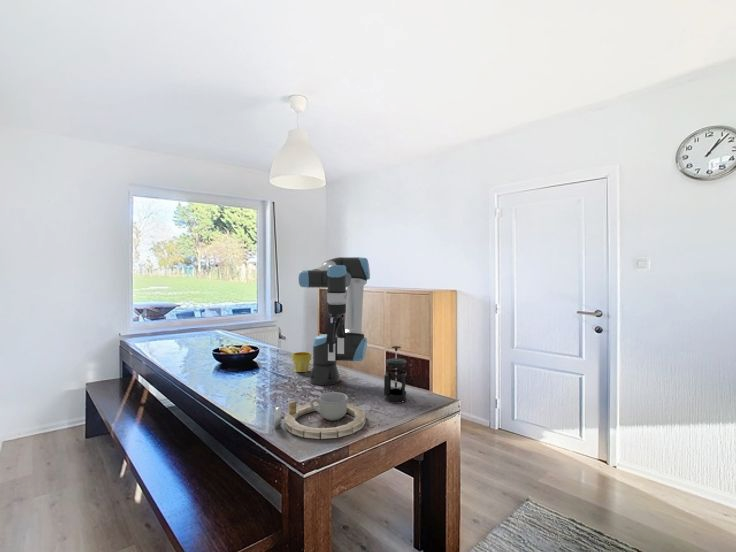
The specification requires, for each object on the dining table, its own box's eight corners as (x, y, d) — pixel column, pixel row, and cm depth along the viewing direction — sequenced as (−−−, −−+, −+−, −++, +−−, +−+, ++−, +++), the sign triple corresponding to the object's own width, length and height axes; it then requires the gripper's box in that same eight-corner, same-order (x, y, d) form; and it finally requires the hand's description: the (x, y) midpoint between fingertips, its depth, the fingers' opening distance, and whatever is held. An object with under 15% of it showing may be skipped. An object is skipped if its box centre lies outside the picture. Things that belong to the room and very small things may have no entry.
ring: (302, 404, 154) (302, 389, 154) (371, 409, 149) (371, 394, 149) (270, 434, 126) (270, 416, 126) (354, 442, 120) (355, 423, 120)
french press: (396, 394, 169) (396, 343, 169) (412, 399, 162) (412, 346, 162) (377, 400, 161) (378, 346, 161) (393, 406, 154) (394, 350, 154)
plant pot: (305, 367, 214) (305, 350, 214) (314, 371, 206) (314, 353, 206) (288, 370, 207) (288, 353, 207) (298, 374, 199) (298, 356, 199)
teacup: (349, 412, 146) (349, 392, 146) (344, 424, 136) (345, 402, 136) (314, 411, 148) (314, 391, 148) (307, 422, 137) (307, 400, 137)
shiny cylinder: (276, 425, 133) (276, 406, 133) (284, 426, 133) (284, 407, 133) (273, 428, 131) (273, 408, 131) (281, 429, 130) (281, 409, 130)
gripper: (337, 306, 138) (336, 364, 138) (352, 301, 162) (352, 351, 162) (317, 305, 140) (317, 363, 140) (336, 301, 164) (335, 350, 164)
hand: (336, 357), depth 151 cm, fingers open, 12 cm apart
